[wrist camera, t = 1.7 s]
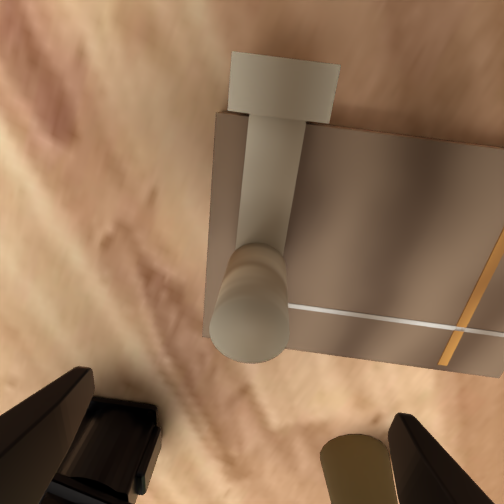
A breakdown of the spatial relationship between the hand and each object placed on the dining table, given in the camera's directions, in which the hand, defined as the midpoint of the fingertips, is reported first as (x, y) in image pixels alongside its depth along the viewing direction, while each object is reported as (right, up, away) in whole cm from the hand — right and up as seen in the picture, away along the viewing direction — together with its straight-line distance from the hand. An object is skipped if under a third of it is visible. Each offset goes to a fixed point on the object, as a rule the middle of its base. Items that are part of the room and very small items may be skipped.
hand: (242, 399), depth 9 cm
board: (+8, +4, +11) cm, 14 cm away
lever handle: (+1, +8, +10) cm, 12 cm away
